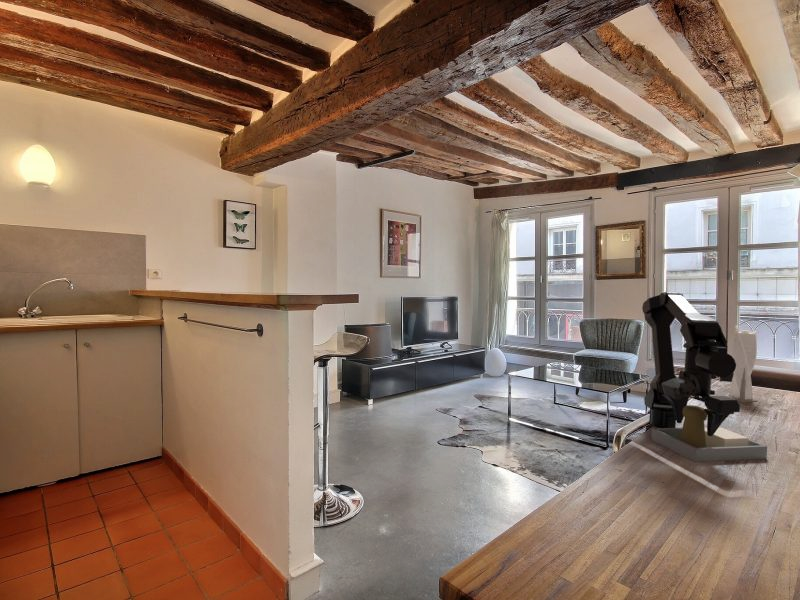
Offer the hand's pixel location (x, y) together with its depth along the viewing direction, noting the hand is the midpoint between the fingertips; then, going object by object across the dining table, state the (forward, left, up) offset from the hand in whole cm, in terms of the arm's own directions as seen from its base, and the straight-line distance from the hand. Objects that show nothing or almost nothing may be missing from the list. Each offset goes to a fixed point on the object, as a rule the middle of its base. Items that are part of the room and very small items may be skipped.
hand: (693, 429), depth 109 cm
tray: (0, +4, -6) cm, 7 cm away
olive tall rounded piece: (0, 0, -5) cm, 5 cm away
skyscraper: (-45, +65, -6) cm, 79 cm away
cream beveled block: (0, +9, -5) cm, 10 cm away
